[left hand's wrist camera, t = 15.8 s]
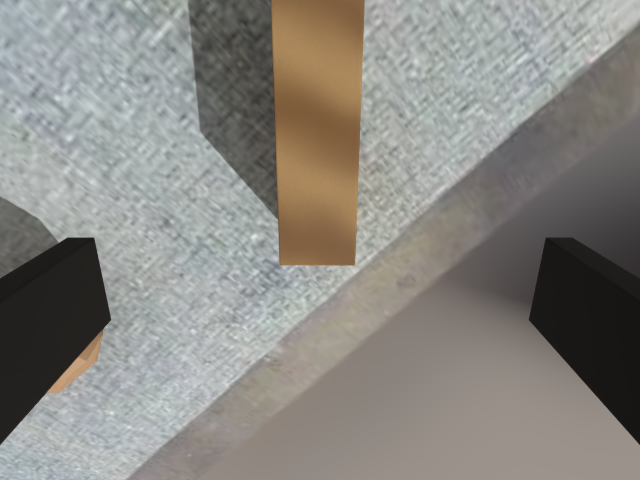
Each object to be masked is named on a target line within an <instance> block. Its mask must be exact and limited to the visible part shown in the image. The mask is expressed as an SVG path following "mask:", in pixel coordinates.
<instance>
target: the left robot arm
mask: <svg viewBox="0 0 640 480" xmlns="http://www.w3.org/2000/svg"><path fill="white" fill-rule="evenodd" d="M110 321H111V317H110V312H109V307H108V302H107V297H106V293H105V288H104V283H103V278H102V273H101V268H100V264H99V259H98V254H97V249H96V244H95V240H94V238H66V239H65V240H63V241H61V242H60V243H58V244H56V245H55V246H53V247H51V248H50V249H48V250H47V251H45V252H43V253H42V254H40V255H38V256H37V257H35V258H33V259H32V260H30V261H28V262H27V263H25V264H23V265H22V266H20V267H18V268H17V269H15V270H14V271H12V272H10V273H9V274H7V275H5V276H4V277H2V278H0V444H1V443H2V442H3V441H4V440H5V439H6V438H7V437H8V435H9V434H10V433H11V432H12V431H13V430H14V429H15V428H16V426H17V425H18V424H19V423H20V422H21V421H22V420H23V419H24V417H25V416H26V415H27V414H28V413H29V412H30V411H31V410H32V408H33V407H34V406H35V405H36V404H37V403H38V402H39V401H40V399H41V398H42V397H43V396H44V395H45V394H46V393H47V392H48V390H49V389H50V388H51V387H52V386H53V385H54V384H55V383H56V381H57V380H58V379H59V378H60V377H61V376H62V375H63V374H64V372H65V371H66V370H67V369H68V368H69V367H70V366H71V365H72V363H73V362H74V361H75V360H76V359H77V358H78V357H79V356H80V354H81V353H82V352H83V351H84V350H85V349H86V348H87V347H88V345H89V344H90V343H91V342H92V341H93V340H94V339H95V338H96V336H97V335H98V334H99V333H100V332H101V331H102V330H103V329H104V327H105V326H106V325H107V324H108V323H109V322H110ZM529 321H530V322H531V323H532V324H533V325H534V326H535V327H536V329H537V330H538V331H539V332H540V333H541V334H542V335H543V336H544V338H545V339H546V340H547V341H548V342H549V343H550V344H551V345H552V347H553V348H554V349H555V350H556V351H557V352H558V353H559V354H560V356H561V357H562V358H563V359H564V360H565V361H566V362H567V363H568V365H569V366H570V367H571V368H572V369H573V370H574V371H575V372H576V373H577V375H578V376H579V377H580V378H581V379H582V380H583V381H584V382H585V384H586V385H587V386H588V387H589V388H590V389H591V390H592V392H593V393H594V394H595V395H596V396H597V397H598V398H599V399H600V401H601V402H602V403H603V404H604V405H605V406H606V407H607V408H608V410H609V411H610V412H611V413H612V414H613V415H614V416H615V417H616V419H617V420H618V421H619V422H620V423H621V424H622V425H623V426H624V428H625V429H626V430H627V431H628V432H629V433H630V434H631V435H632V437H633V438H634V439H635V440H636V441H637V442H638V443H639V444H640V278H638V277H636V276H635V275H633V274H631V273H630V272H628V271H626V270H625V269H623V268H621V267H620V266H618V265H617V264H615V263H613V262H612V261H610V260H608V259H607V258H605V257H603V256H602V255H600V254H598V253H597V252H595V251H593V250H592V249H590V248H588V247H587V246H585V245H584V244H582V243H580V242H579V241H577V240H575V239H574V238H546V240H545V244H544V249H543V254H542V259H541V264H540V269H539V273H538V278H537V283H536V288H535V293H534V298H533V302H532V307H531V312H530V317H529Z"/></svg>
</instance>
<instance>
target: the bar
mask: <svg viewBox="0 0 640 480" xmlns="http://www.w3.org/2000/svg"><path fill="white" fill-rule="evenodd" d="M364 5H365V0H271V23H272V52H273V81H274V111H275V140H276V169H277V199H278V228H279V257H280V265H355V252H356V224H357V197H358V169H359V142H360V114H361V87H362V60H363V32H364Z"/></svg>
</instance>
